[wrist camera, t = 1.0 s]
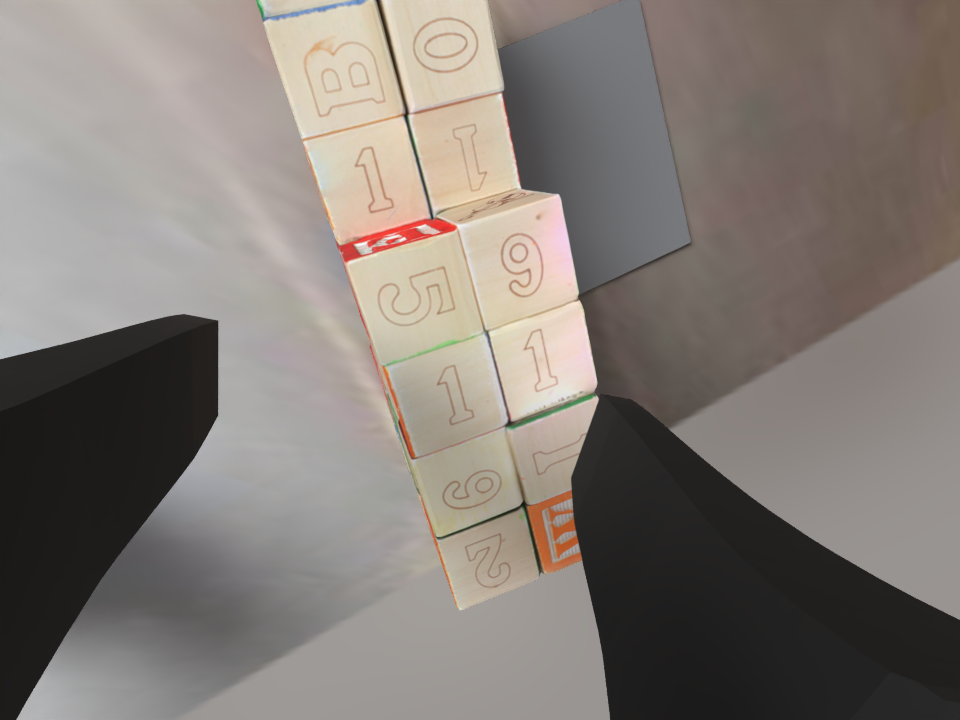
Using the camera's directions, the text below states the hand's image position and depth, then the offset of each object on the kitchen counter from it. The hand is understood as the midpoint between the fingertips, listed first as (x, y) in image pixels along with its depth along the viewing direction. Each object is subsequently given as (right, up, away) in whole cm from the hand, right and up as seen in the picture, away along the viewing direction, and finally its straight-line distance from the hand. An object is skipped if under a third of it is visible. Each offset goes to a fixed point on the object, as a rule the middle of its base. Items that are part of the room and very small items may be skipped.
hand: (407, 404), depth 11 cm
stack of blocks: (-2, +7, +16) cm, 17 cm away
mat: (+6, +10, +17) cm, 21 cm away
